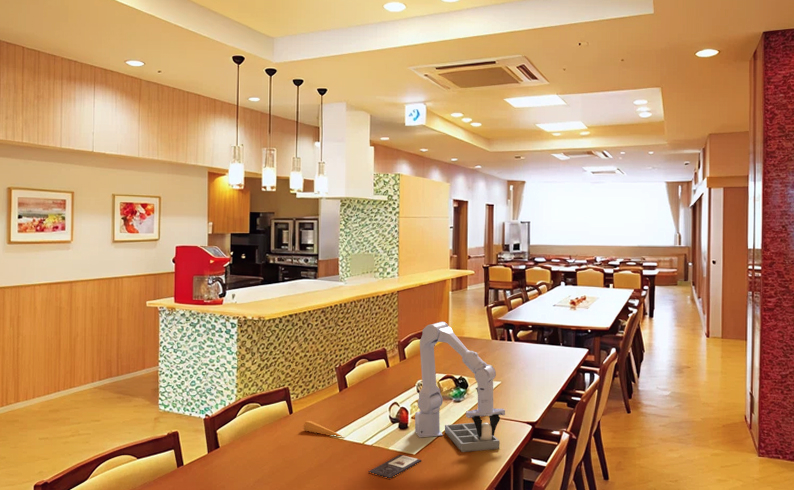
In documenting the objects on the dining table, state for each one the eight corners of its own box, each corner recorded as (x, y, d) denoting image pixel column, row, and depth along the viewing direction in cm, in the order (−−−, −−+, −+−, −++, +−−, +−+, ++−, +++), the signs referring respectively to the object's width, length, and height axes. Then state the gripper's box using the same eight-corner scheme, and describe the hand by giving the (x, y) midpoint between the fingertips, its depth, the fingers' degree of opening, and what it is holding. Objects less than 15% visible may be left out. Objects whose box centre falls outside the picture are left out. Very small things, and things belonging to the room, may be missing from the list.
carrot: (302, 433, 235) (300, 424, 233) (309, 426, 239) (307, 417, 237) (343, 446, 225) (341, 437, 224) (349, 438, 229) (348, 429, 227)
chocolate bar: (368, 471, 193) (400, 454, 208) (368, 474, 193) (400, 457, 208) (390, 477, 188) (421, 459, 202) (390, 480, 188) (421, 462, 202)
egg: (482, 441, 214) (482, 425, 214) (478, 437, 218) (478, 421, 218) (493, 440, 215) (493, 424, 214) (489, 436, 219) (489, 420, 219)
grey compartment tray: (461, 452, 211) (461, 443, 210) (444, 432, 231) (444, 425, 231) (499, 448, 213) (499, 440, 213) (479, 429, 234) (479, 422, 234)
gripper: (470, 403, 211) (470, 440, 211) (508, 400, 214) (508, 437, 214) (464, 397, 218) (464, 434, 218) (500, 395, 221) (501, 431, 221)
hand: (485, 435), depth 216 cm, fingers closed on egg, 4 cm apart
